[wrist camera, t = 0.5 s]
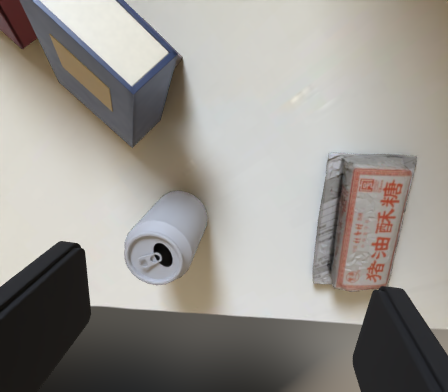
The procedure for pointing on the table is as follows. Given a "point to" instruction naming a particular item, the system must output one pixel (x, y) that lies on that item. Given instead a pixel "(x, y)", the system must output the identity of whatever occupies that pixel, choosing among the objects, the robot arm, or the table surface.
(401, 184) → the packaged product
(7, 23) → the burgundy book
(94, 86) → the navy book
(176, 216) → the can
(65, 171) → the table surface
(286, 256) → the table surface
